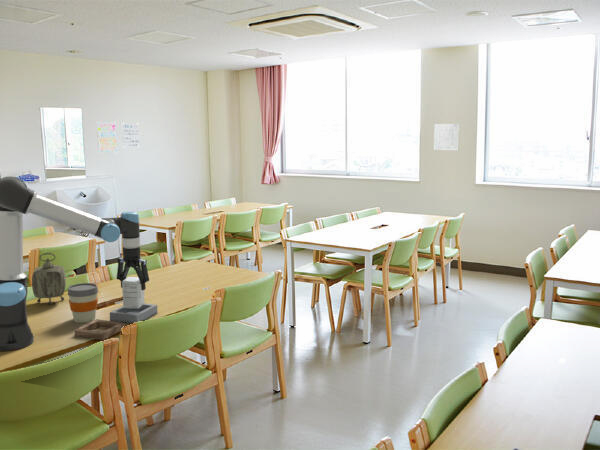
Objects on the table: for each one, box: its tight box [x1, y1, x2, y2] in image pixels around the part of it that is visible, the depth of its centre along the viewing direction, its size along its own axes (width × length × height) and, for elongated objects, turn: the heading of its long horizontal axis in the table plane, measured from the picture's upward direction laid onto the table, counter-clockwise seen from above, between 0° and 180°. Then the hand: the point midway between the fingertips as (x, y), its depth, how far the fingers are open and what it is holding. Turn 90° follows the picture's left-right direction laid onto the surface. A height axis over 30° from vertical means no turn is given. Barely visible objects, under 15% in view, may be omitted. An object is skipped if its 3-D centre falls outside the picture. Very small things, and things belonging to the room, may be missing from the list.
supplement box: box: [121, 276, 146, 309], centre depth 243 cm, size 7×7×13 cm
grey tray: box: [109, 303, 158, 325], centre depth 245 cm, size 16×14×4 cm
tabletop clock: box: [31, 252, 67, 305], centre depth 261 cm, size 14×9×25 cm, turn 110°
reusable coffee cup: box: [67, 282, 99, 324], centre depth 240 cm, size 13×13×15 cm
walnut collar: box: [73, 318, 125, 341], centre depth 226 cm, size 14×14×2 cm
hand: (133, 295), depth 243 cm, fingers closed on supplement box, 8 cm apart
